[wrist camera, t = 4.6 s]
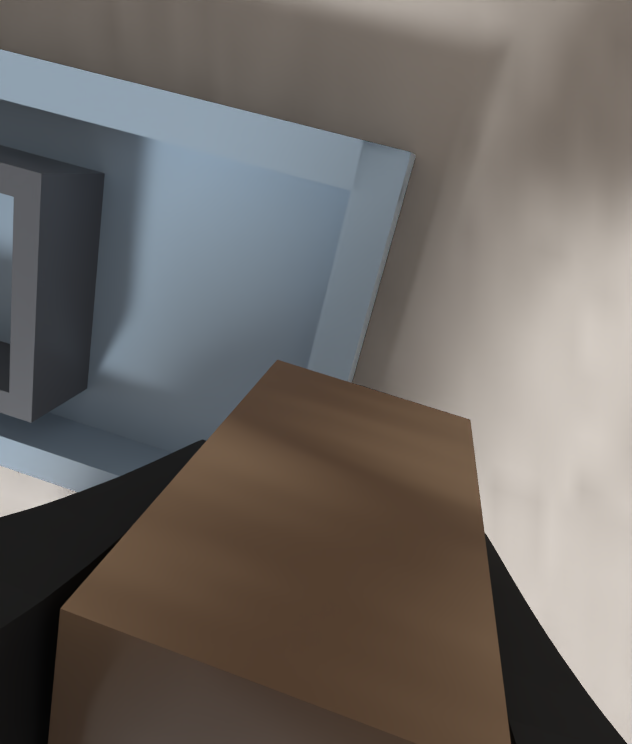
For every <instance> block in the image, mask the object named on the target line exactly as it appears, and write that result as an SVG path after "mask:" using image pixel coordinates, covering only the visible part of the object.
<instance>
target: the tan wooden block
mask: <svg viewBox="0 0 632 744" xmlns="http://www.w3.org/2000/svg"><path fill="white" fill-rule="evenodd" d="M48 744H511V740H510V732H509V724H508V716H507V708H506V700H505V692H504V684H503V676H502V668H501V660H500V652H499V645H498V637H497V629H496V621H495V613H494V605H493V597H492V589H491V581H490V573H489V565H488V557H487V549H486V541H485V533H484V525H483V517H482V509H481V502H480V494H479V486H478V478H477V470H476V462H475V454H474V446H473V438H472V430H471V422H470V420H469V419H466V418H463V417H459V416H456V415H453V414H450V413H447V412H443V411H440V410H437V409H434V408H431V407H427V406H424V405H421V404H418V403H415V402H411V401H408V400H405V399H402V398H399V397H395V396H392V395H389V394H386V393H383V392H379V391H376V390H373V389H370V388H367V387H363V386H360V385H357V384H354V383H351V382H347V381H344V380H341V379H338V378H335V377H331V376H328V375H325V374H322V373H319V372H315V371H312V370H309V369H306V368H303V367H300V366H296V365H293V364H290V363H287V362H284V361H280V360H276V362H275V363H274V364H273V365H272V366H271V367H270V368H269V370H268V371H267V372H266V373H265V374H264V375H263V376H262V378H261V379H260V380H259V381H258V382H257V383H256V385H255V386H254V387H253V388H252V389H251V390H250V391H249V393H248V394H247V395H246V396H245V397H244V398H243V399H242V401H241V402H240V403H239V404H238V405H237V406H236V407H235V409H234V410H233V411H232V412H231V413H230V414H229V415H228V417H227V418H226V419H225V420H224V421H223V422H222V424H221V425H220V426H219V427H218V428H217V429H216V430H215V432H214V433H213V434H212V435H211V436H210V437H209V438H208V440H207V441H206V442H205V443H204V444H203V445H202V446H201V448H200V449H199V450H198V451H197V452H196V453H195V454H194V456H193V457H192V458H191V459H190V460H189V461H188V463H187V464H186V465H185V466H184V467H183V468H182V469H181V471H180V472H179V473H178V474H177V475H176V476H175V477H174V479H173V480H172V481H171V482H170V483H169V484H168V485H167V487H166V488H165V489H164V490H163V491H162V492H161V494H160V495H159V496H158V497H157V498H156V499H155V500H154V502H153V503H152V504H151V505H150V506H149V507H148V508H147V510H146V511H145V512H144V513H143V514H142V515H141V516H140V518H139V519H138V520H137V521H136V522H135V523H134V524H133V526H132V527H131V528H130V529H129V530H128V531H127V533H126V534H125V535H124V536H123V537H122V538H121V539H120V541H119V542H118V543H117V544H116V545H115V546H114V547H113V549H112V550H111V551H110V552H109V553H108V554H107V555H106V557H105V558H104V559H103V560H102V561H101V562H100V564H99V565H98V566H97V567H96V568H95V569H94V570H93V572H92V573H91V574H90V575H89V576H88V577H87V578H86V580H85V581H84V582H83V583H82V584H81V585H80V586H79V588H78V589H77V590H76V591H75V592H74V593H73V594H72V596H71V597H70V598H69V599H68V600H67V601H66V603H65V604H64V605H63V606H62V607H61V608H60V617H59V627H58V638H57V649H56V660H55V671H54V682H53V693H52V704H51V715H50V726H49V737H48Z"/></svg>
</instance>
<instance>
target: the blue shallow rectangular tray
mask: <svg viewBox="0 0 632 744" xmlns="http://www.w3.org/2000/svg"><path fill="white" fill-rule="evenodd" d="M415 157H416V155H415V154H413V153H412V152H408V151H404V150H400V149H396V148H393V147H389V146H385V145H381V144H377V143H373V142H369V141H365V140H361V139H357V138H353V137H349V136H345V135H341V134H337V133H333V132H329V131H325V130H321V129H317V128H313V127H309V126H305V125H301V124H297V123H293V122H289V121H285V120H281V119H277V118H273V117H269V116H265V115H261V114H257V113H253V112H249V111H245V110H241V109H237V108H233V107H229V106H225V105H221V104H217V103H213V102H209V101H205V100H201V99H197V98H193V97H189V96H185V95H181V94H177V93H173V92H169V91H165V90H161V89H157V88H153V87H149V86H145V85H141V84H137V83H133V82H129V81H125V80H121V79H117V78H113V77H109V76H105V75H101V74H97V73H93V72H89V71H85V70H81V69H77V68H73V67H69V66H65V65H61V64H57V63H53V62H49V61H45V60H41V59H37V58H33V57H29V56H25V55H21V54H17V53H13V52H9V51H5V50H1V49H0V466H3V467H6V468H9V469H12V470H15V471H18V472H21V473H24V474H26V475H29V476H32V477H35V478H38V479H41V480H44V481H47V482H50V483H53V484H55V485H58V486H61V487H64V488H67V489H70V490H73V491H76V492H80V491H83V490H85V489H88V488H91V487H93V486H96V485H99V484H101V483H104V482H106V481H109V480H112V479H114V478H117V477H119V476H122V475H124V474H126V473H128V472H131V471H133V470H135V469H137V468H140V467H142V466H144V465H147V464H149V463H151V462H153V461H156V460H158V459H160V458H162V457H164V456H167V455H169V454H171V453H173V452H175V451H177V450H179V449H182V448H184V447H186V446H188V445H190V444H193V443H195V442H197V441H200V440H202V439H203V440H206V441H207V440H208V438H209V437H210V436H211V435H212V434H213V433H214V432H215V430H216V429H217V428H218V427H219V426H220V425H221V424H222V422H223V421H224V420H225V419H226V418H227V417H228V415H229V414H230V413H231V412H232V411H233V410H234V409H235V407H236V406H237V405H238V404H239V403H240V402H241V401H242V399H243V398H244V397H245V396H246V395H247V394H248V393H249V391H250V390H251V389H252V388H253V387H254V386H255V385H256V383H257V382H258V381H259V380H260V379H261V378H262V376H263V375H264V374H265V373H266V372H267V371H268V370H269V368H270V367H271V366H272V365H273V364H274V363H275V362H276V360H280V361H284V362H287V363H290V364H293V365H296V366H300V367H303V368H306V369H309V370H312V371H315V372H319V373H322V374H325V375H328V376H331V377H335V378H338V379H341V380H344V381H347V382H351V383H352V380H353V377H354V373H355V370H356V366H357V363H358V359H359V356H360V352H361V348H362V345H363V341H364V338H365V334H366V331H367V327H368V324H369V320H370V317H371V313H372V309H373V306H374V302H375V299H376V295H377V292H378V288H379V285H380V281H381V278H382V274H383V270H384V267H385V263H386V260H387V256H388V253H389V249H390V246H391V242H392V239H393V235H394V231H395V228H396V224H397V221H398V217H399V214H400V210H401V207H402V203H403V200H404V196H405V192H406V189H407V185H408V182H409V178H410V175H411V171H412V168H413V164H414V161H415Z"/></svg>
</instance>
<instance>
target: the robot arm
mask: <svg viewBox="0 0 632 744" xmlns="http://www.w3.org/2000/svg"><path fill="white" fill-rule="evenodd" d="M205 442H206V440H203V439H202V440H200V441H197V442H195V443H193V444H190V445H188V446H186V447H184V448H182V449H179V450H177V451H175V452H173V453H171V454H169V455H167V456H164V457H162V458H160V459H158V460H156V461H153V462H151V463H149V464H147V465H144V466H142V467H140V468H137V469H135V470H133V471H131V472H128V473H126V474H124V475H122V476H119V477H117V478H114V479H112V480H109V481H106V482H104V483H101V484H99V485H96V486H93V487H91V488H88V489H85V490H83V491H80V492H78V493H75V494H72V495H70V496H67V497H64V498H62V499H59V500H56V501H53V502H50V503H47V504H44V505H41V506H37V507H34V508H31V509H28V510H24V511H21V512H17V513H14V514H10V515H7V516H3V517H0V744H48V737H49V726H50V715H51V704H52V693H53V682H54V671H55V660H56V649H57V638H58V627H59V617H60V608H61V607H62V606H63V605H64V604H65V603H66V601H67V600H68V599H69V598H70V597H71V596H72V594H73V593H74V592H75V591H76V590H77V589H78V588H79V586H80V585H81V584H82V583H83V582H84V581H85V580H86V578H87V577H88V576H89V575H90V574H91V573H92V572H93V570H94V569H95V568H96V567H97V566H98V565H99V564H100V562H101V561H102V560H103V559H104V558H105V557H106V555H107V554H108V553H109V552H110V551H111V550H112V549H113V547H114V546H115V545H116V544H117V543H118V542H119V541H120V539H121V538H122V537H123V536H124V535H125V534H126V533H127V531H128V530H129V529H130V528H131V527H132V526H133V524H134V523H135V522H136V521H137V520H138V519H139V518H140V516H141V515H142V514H143V513H144V512H145V511H146V510H147V508H148V507H149V506H150V505H151V504H152V503H153V502H154V500H155V499H156V498H157V497H158V496H159V495H160V494H161V492H162V491H163V490H164V489H165V488H166V487H167V485H168V484H169V483H170V482H171V481H172V480H173V479H174V477H175V476H176V475H177V474H178V473H179V472H180V471H181V469H182V468H183V467H184V466H185V465H186V464H187V463H188V461H189V460H190V459H191V458H192V457H193V456H194V454H195V453H196V452H197V451H198V450H199V449H200V448H201V446H202V445H203V444H204V443H205ZM485 541H486V549H487V557H488V565H489V573H490V581H491V589H492V597H493V605H494V613H495V621H496V629H497V637H498V645H499V652H500V660H501V668H502V676H503V684H504V692H505V700H506V708H507V716H508V724H509V732H510V740H511V744H627V743H626V742H625V740H624V739H623V738H622V737H621V735H620V734H619V733H618V732H617V731H616V729H615V728H614V727H613V726H612V724H611V723H610V722H609V721H608V719H607V718H606V717H605V716H604V714H603V713H602V712H601V710H600V709H599V708H598V706H597V705H596V704H595V702H594V701H593V700H592V699H591V697H590V696H589V694H588V693H587V692H586V690H585V689H584V688H583V686H582V685H581V683H580V682H579V681H578V679H577V678H576V676H575V675H574V673H573V672H572V671H571V669H570V668H569V666H568V665H567V663H566V662H565V661H564V659H563V658H562V656H561V655H560V654H559V652H558V651H557V649H556V648H555V646H554V645H553V643H552V642H551V640H550V639H549V637H548V636H547V634H546V632H545V631H544V629H543V628H542V626H541V625H540V623H539V622H538V620H537V618H536V617H535V615H534V614H533V612H532V610H531V609H530V607H529V606H528V604H527V602H526V601H525V599H524V597H523V596H522V594H521V592H520V591H519V589H518V587H517V586H516V584H515V582H514V581H513V579H512V577H511V576H510V574H509V572H508V570H507V569H506V567H505V565H504V564H503V562H502V560H501V558H500V557H499V555H498V553H497V552H496V550H495V548H494V546H493V545H492V543H491V541H490V540H489V538H488V537H487V535H486V534H485Z"/></svg>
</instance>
